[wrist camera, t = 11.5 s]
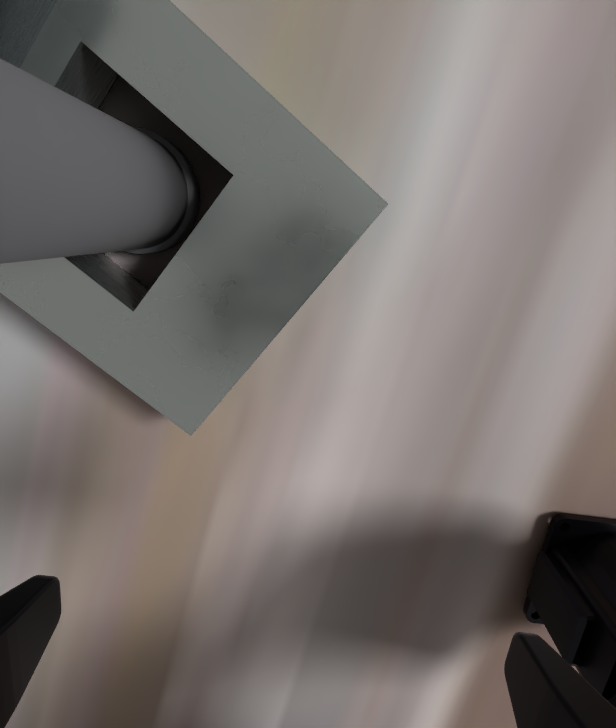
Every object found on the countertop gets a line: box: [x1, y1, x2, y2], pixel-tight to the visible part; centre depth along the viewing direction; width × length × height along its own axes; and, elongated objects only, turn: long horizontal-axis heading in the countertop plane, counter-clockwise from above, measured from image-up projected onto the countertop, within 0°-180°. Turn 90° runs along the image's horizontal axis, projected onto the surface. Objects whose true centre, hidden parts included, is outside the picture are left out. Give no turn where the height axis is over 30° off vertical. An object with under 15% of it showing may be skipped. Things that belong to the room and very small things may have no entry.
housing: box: [0, 0, 388, 436], centre depth 16 cm, size 16×12×6 cm
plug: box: [0, 58, 200, 264], centre depth 13 cm, size 5×5×13 cm
